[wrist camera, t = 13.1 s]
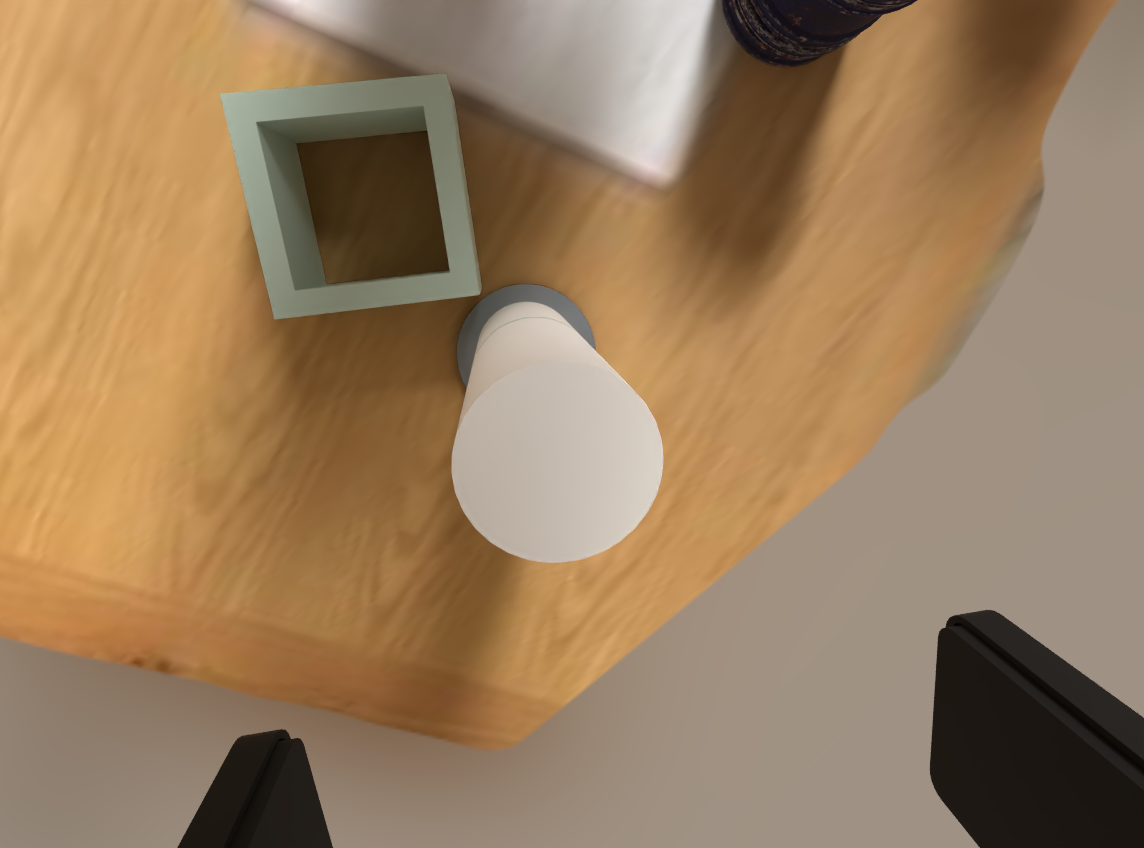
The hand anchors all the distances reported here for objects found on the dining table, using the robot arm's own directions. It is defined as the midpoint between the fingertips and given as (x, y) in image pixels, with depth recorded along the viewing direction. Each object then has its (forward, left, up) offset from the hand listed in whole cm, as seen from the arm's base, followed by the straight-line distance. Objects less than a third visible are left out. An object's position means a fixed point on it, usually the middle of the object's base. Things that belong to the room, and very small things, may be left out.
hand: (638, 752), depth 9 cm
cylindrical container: (0, 0, -38) cm, 38 cm away
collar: (-11, -9, -38) cm, 41 cm away
